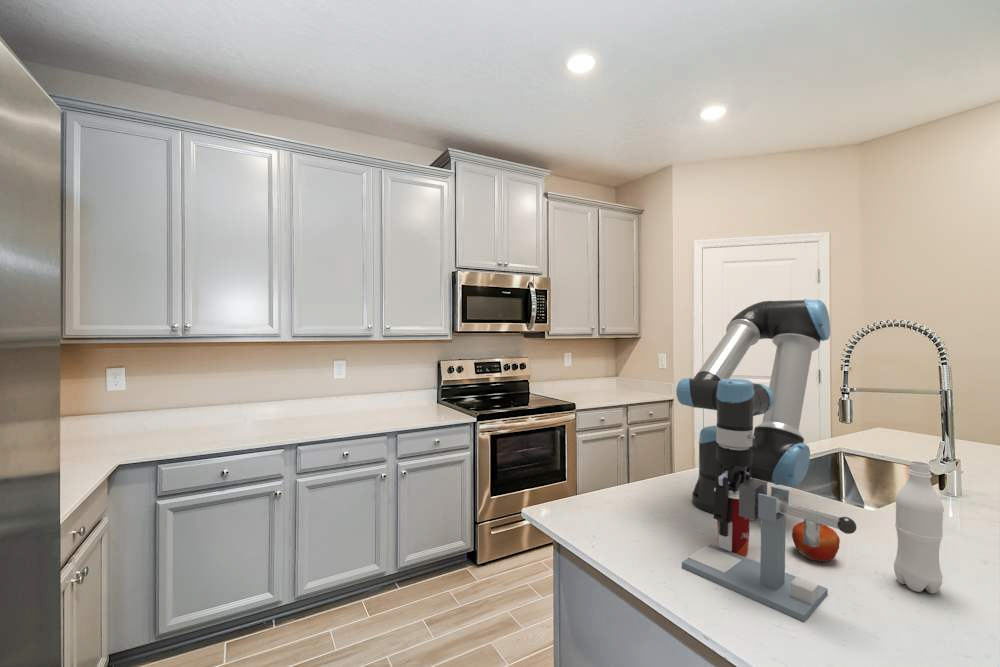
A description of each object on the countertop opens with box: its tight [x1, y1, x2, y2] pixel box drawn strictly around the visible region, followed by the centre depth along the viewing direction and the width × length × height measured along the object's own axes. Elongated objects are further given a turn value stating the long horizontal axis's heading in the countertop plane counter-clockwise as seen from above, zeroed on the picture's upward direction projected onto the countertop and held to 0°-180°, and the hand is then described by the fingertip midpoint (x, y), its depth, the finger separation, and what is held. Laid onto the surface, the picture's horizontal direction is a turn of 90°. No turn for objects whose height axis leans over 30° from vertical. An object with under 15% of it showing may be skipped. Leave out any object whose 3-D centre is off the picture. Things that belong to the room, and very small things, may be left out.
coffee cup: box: [714, 486, 751, 557], centre depth 105 cm, size 8×8×15 cm
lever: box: [739, 478, 857, 547], centre depth 87 cm, size 18×6×9 cm, turn 39°
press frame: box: [681, 485, 829, 623], centre depth 93 cm, size 23×13×20 cm, turn 39°
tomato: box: [791, 521, 841, 562], centre depth 103 cm, size 9×9×8 cm
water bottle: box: [893, 460, 945, 595], centre depth 91 cm, size 7×7×25 cm
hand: (732, 543), depth 106 cm, fingers closed on coffee cup, 7 cm apart
